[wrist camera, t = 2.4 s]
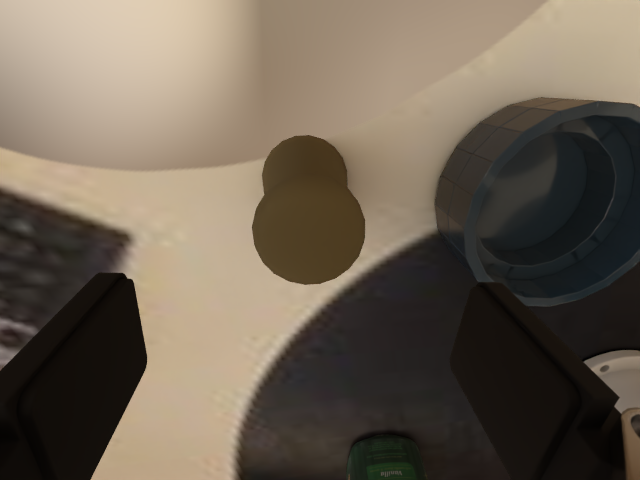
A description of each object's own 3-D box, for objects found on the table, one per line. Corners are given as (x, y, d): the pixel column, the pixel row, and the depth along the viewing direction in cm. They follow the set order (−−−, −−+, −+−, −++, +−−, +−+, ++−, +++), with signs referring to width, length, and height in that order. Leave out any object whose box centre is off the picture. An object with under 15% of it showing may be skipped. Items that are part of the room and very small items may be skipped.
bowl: (636, 105, 24) (727, 111, 19) (566, 270, 29) (622, 309, 24) (455, 90, 23) (500, 92, 18) (417, 264, 28) (443, 304, 23)
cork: (244, 182, 24) (207, 252, 14) (301, 115, 23) (304, 141, 13) (308, 234, 26) (315, 327, 16) (364, 175, 25) (411, 239, 15)
